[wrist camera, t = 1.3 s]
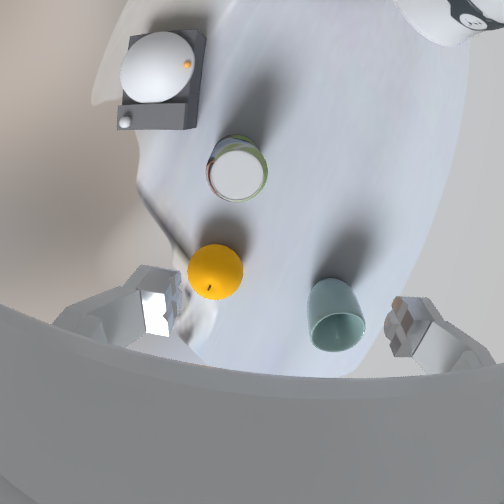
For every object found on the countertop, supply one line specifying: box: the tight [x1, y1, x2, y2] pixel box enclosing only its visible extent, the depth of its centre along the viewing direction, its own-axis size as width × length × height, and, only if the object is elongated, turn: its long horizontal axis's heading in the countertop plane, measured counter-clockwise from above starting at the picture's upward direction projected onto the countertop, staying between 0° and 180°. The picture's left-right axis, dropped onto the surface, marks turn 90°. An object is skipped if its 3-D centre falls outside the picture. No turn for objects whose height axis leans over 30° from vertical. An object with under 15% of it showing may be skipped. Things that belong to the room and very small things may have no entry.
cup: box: [307, 278, 365, 352], centre depth 39 cm, size 8×8×10 cm
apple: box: [187, 244, 243, 300], centre depth 39 cm, size 8×8×8 cm
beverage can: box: [206, 135, 268, 202], centre depth 30 cm, size 6×7×12 cm
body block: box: [117, 29, 206, 130], centre depth 28 cm, size 13×10×6 cm
